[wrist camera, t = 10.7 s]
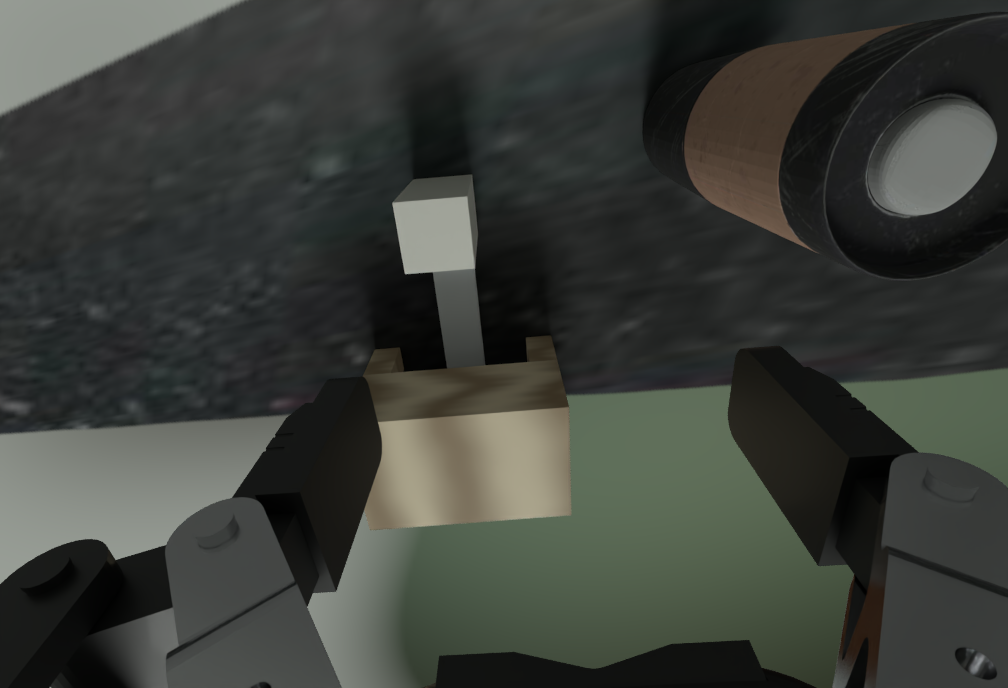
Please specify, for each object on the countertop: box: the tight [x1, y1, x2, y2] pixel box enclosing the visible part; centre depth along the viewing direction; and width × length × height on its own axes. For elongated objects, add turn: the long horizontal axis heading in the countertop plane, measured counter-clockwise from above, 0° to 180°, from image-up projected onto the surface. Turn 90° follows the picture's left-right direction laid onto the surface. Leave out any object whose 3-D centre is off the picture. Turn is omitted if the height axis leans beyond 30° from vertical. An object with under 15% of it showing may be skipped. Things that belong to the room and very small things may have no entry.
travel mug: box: [643, 12, 1008, 281], centre depth 23 cm, size 8×8×20 cm
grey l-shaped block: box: [392, 174, 485, 368], centre depth 34 cm, size 17×4×8 cm, turn 4°
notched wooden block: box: [363, 335, 571, 530], centre depth 37 cm, size 14×9×10 cm, turn 94°
